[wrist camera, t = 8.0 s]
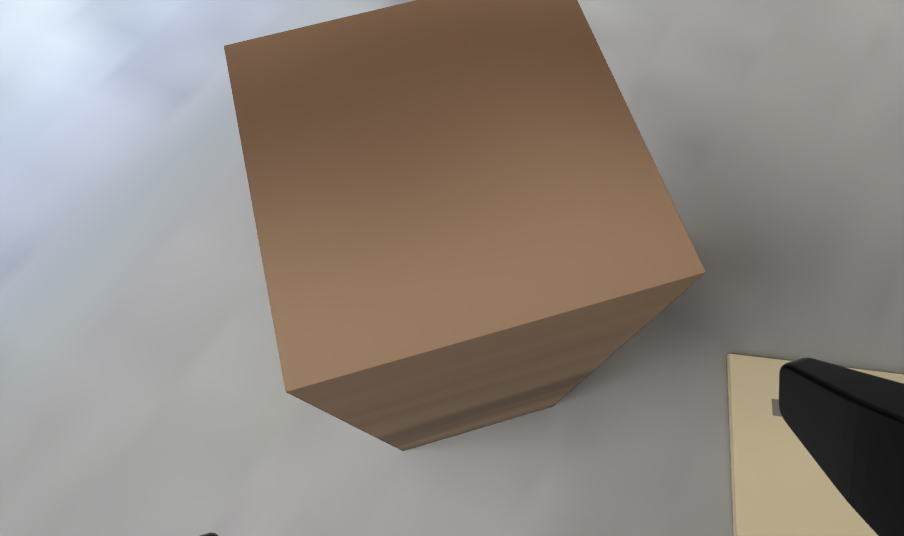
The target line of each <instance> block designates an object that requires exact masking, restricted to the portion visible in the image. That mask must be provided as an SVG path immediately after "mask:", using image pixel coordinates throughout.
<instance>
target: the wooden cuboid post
mask: <svg viewBox="0 0 904 536" xmlns="http://www.w3.org/2000/svg"><path fill="white" fill-rule="evenodd" d="M224 49H225V54H226V60H227V66H228V71H229V77H230V82H231V88H232V94H233V99H234V105H235V110H236V116H237V122H238V127H239V133H240V138H241V144H242V150H243V155H244V161H245V166H246V172H247V178H248V183H249V189H250V194H251V200H252V206H253V211H254V217H255V222H256V228H257V234H258V239H259V245H260V250H261V256H262V262H263V267H264V273H265V278H266V284H267V290H268V295H269V301H270V306H271V312H272V318H273V323H274V329H275V334H276V340H277V346H278V351H279V357H280V362H281V368H282V374H283V379H284V385H285V390H286V392H287V393H289V394H291V395H293V396H295V397H297V398H299V399H301V400H303V401H305V402H307V403H309V404H311V405H313V406H315V407H317V408H319V409H321V410H323V411H325V412H327V413H329V414H330V415H332V416H334V417H336V418H338V419H340V420H342V421H344V422H346V423H348V424H350V425H352V426H354V427H356V428H358V429H360V430H362V431H364V432H366V433H368V434H370V435H372V436H374V437H376V438H378V439H380V440H382V441H384V442H386V443H388V444H390V445H392V446H394V447H396V448H398V449H400V450H402V451H405V450H408V449H411V448H415V447H418V446H421V445H425V444H428V443H431V442H435V441H438V440H441V439H445V438H448V437H452V436H455V435H458V434H462V433H465V432H468V431H472V430H475V429H478V428H482V427H485V426H488V425H492V424H495V423H499V422H502V421H505V420H509V419H512V418H515V417H519V416H522V415H525V414H529V413H532V412H535V411H539V410H542V409H546V408H549V407H552V406H554V405H555V404H556V403H557V402H559V401H560V400H561V399H562V398H563V397H564V396H565V395H567V394H568V393H569V392H570V391H571V390H572V389H573V388H575V387H576V386H577V385H578V384H579V383H580V382H581V381H582V380H584V379H585V378H586V377H587V376H588V375H589V374H590V373H592V372H593V371H594V370H595V369H596V368H597V367H598V366H600V365H601V364H602V363H603V362H604V361H605V360H606V359H608V358H609V357H610V356H611V355H612V354H613V353H614V352H615V351H617V350H618V349H619V348H620V347H621V346H622V345H623V344H625V343H626V342H627V341H628V340H629V339H630V338H631V337H633V336H634V335H635V334H636V333H637V332H638V331H639V330H641V329H642V328H643V327H644V326H645V325H646V324H647V323H648V322H650V321H651V320H652V319H653V318H654V317H655V316H656V315H658V314H659V313H660V312H661V311H662V310H663V309H664V308H666V307H667V306H668V305H669V304H670V303H671V302H672V301H674V300H675V299H676V298H677V297H678V296H679V295H680V294H681V293H683V292H684V291H685V290H686V289H687V288H688V287H689V286H691V285H692V284H693V283H694V282H695V281H696V280H697V279H699V278H700V277H701V276H702V275H703V274H704V273H705V272H706V271H705V269H704V267H703V265H702V263H701V261H700V259H699V256H698V254H697V252H696V250H695V248H694V246H693V244H692V242H691V240H690V237H689V235H688V233H687V231H686V229H685V227H684V225H683V223H682V221H681V218H680V216H679V214H678V212H677V210H676V208H675V206H674V204H673V202H672V199H671V197H670V195H669V193H668V191H667V189H666V187H665V185H664V183H663V181H662V178H661V176H660V174H659V172H658V170H657V168H656V166H655V164H654V162H653V159H652V157H651V155H650V153H649V151H648V149H647V147H646V145H645V143H644V140H643V138H642V136H641V134H640V132H639V130H638V128H637V126H636V124H635V121H634V119H633V117H632V115H631V113H630V111H629V109H628V107H627V105H626V102H625V100H624V98H623V96H622V94H621V92H620V90H619V88H618V86H617V83H616V81H615V79H614V77H613V75H612V73H611V71H610V69H609V67H608V64H607V62H606V60H605V58H604V56H603V54H602V52H601V50H600V48H599V46H598V43H597V41H596V39H595V37H594V35H593V33H592V31H591V29H590V27H589V24H588V22H587V20H586V18H585V16H584V14H583V12H582V10H581V8H580V5H579V3H578V1H577V0H416V1H412V2H407V3H403V4H399V5H395V6H390V7H386V8H382V9H378V10H374V11H369V12H365V13H361V14H357V15H352V16H348V17H344V18H340V19H335V20H331V21H327V22H323V23H319V24H314V25H310V26H306V27H302V28H297V29H293V30H289V31H285V32H281V33H276V34H272V35H268V36H264V37H259V38H255V39H251V40H247V41H243V42H238V43H234V44H230V45H226V46H224Z"/></svg>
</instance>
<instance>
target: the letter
mask: <svg viewBox="0 0 904 536" xmlns="http://www.w3.org/2000/svg"><path fill="white" fill-rule="evenodd" d="M788 362H792V361H787V360H779V359H771V358H762V357H754V356H746V355H737V354H728V355H727V374H728V400H729V426H730V452H731V478H732V504H733V530H734V536H878V535H877V534H876V533H875V532H874V531H873V529H872V528H871V527H870V526H869V525H868V524H867V523H866V522H865V521H864V520H863V519H862V518H861V517H860V515H859V514H858V513H857V512H856V511H855V510H854V509H853V508H852V506H851V505H850V504H849V503H848V502H847V501H846V499H845V498H844V497H843V496H842V495H841V493H840V492H839V491H838V490H837V488H836V487H835V486H834V485H833V483H832V482H831V481H830V479H829V478H828V477H827V475H826V474H825V473H824V472H823V470H822V469H821V468H820V466H819V465H818V464H817V462H816V461H815V460H814V459H813V457H812V456H811V455H810V453H809V452H808V451H807V449H806V448H805V447H804V446H803V444H802V443H801V442H800V440H799V439H798V438H797V437H796V435H795V434H794V433H793V431H792V430H791V429H790V427H789V426H788V425H787V424H786V422H785V421H784V419H783V417H782V415H781V413H780V410H779V372H780V369H781V367H782V365H784V364H785V363H788ZM845 368H846V367H845ZM849 369H852V370H856V371H860V372H863V373H867V374H871V375H874V376H878V377H882V378H885V379H889V380H893V381H896V382H900V383H904V374H896V373H888V372H879V371H871V370H862V369H854V368H849Z"/></svg>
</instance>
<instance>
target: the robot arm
mask: <svg viewBox="0 0 904 536" xmlns="http://www.w3.org/2000/svg"><path fill="white" fill-rule="evenodd" d="M779 410H780V413H781V415H782V417H783V419H784V421H785V422H786V424H787V425H788V426H789V427H790V429H791V430H792V431H793V433H794V434H795V435H796V437H797V438H798V439H799V440H800V442H801V443H802V444H803V446H804V447H805V448H806V449H807V451H808V452H809V453H810V455H811V456H812V457H813V459H814V460H815V461H816V462H817V464H818V465H819V466H820V468H821V469H822V470H823V472H824V473H825V474H826V475H827V477H828V478H829V479H830V481H831V482H832V483H833V485H834V486H835V487H836V488H837V490H838V491H839V492H840V493H841V495H842V496H843V497H844V498H845V499H846V501H847V502H848V503H849V504H850V505H851V506H852V508H853V509H854V510H855V511H856V512H857V513H858V514H859V515H860V517H861V518H862V519H863V520H864V521H865V522H866V523H867V524H868V525H869V526H870V527H871V528H872V529H873V531H874V532H875V533H876V534H877V535H878V536H904V383H900V382H896V381H893V380H889V379H885V378H882V377H878V376H874V375H871V374H867V373H863V372H860V371H856V370H852V369H849V368H845V367H841V366H838V365H834V364H830V363H827V362H823V361H819V360H816V359H812V358H802V359H799V360H795V361H792V362H788V363H785V364H784V365H782V367H781V369H780V372H779ZM201 536H218V535H217V534H216V533H207V534H204V535H201Z"/></svg>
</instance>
